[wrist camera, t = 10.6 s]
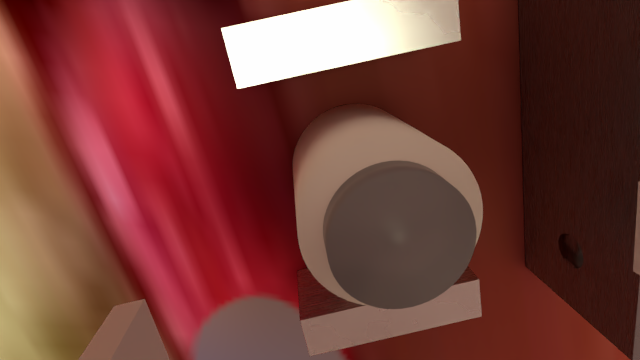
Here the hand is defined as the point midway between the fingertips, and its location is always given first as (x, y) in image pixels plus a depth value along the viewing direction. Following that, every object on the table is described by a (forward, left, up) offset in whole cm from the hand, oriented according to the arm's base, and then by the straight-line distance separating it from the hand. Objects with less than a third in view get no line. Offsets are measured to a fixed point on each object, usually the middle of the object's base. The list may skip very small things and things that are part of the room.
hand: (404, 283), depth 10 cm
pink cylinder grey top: (0, 0, -9) cm, 9 cm away
